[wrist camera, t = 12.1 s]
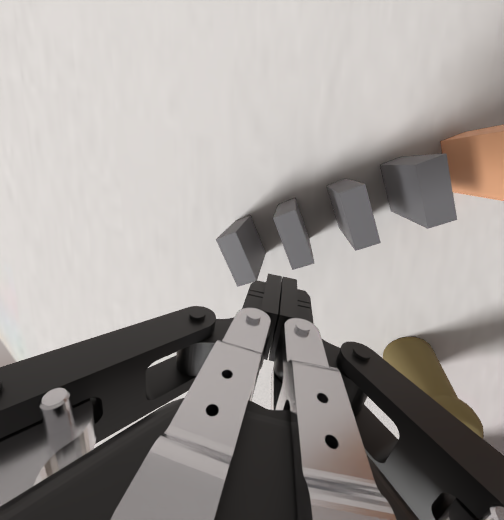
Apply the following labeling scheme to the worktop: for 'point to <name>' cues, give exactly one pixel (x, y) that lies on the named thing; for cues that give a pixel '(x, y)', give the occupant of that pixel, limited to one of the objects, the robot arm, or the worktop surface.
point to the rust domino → (477, 162)
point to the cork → (429, 377)
